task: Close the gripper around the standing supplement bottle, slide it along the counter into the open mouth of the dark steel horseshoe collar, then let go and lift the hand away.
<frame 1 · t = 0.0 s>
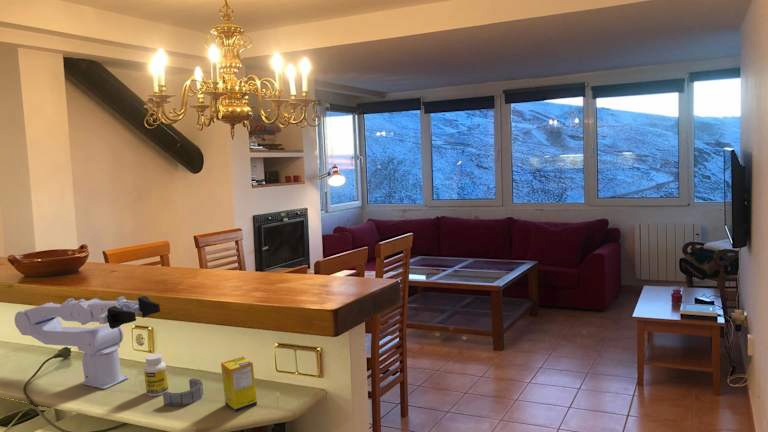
hand: (146, 312, 160), 22 cm above the table, tool horizontal, fingers open, 7 cm apart
steel horseshoe collar: (182, 397, 159), on the table
supplement box: (241, 405, 153), on the table
supplement bottle: (157, 392, 164), on the table
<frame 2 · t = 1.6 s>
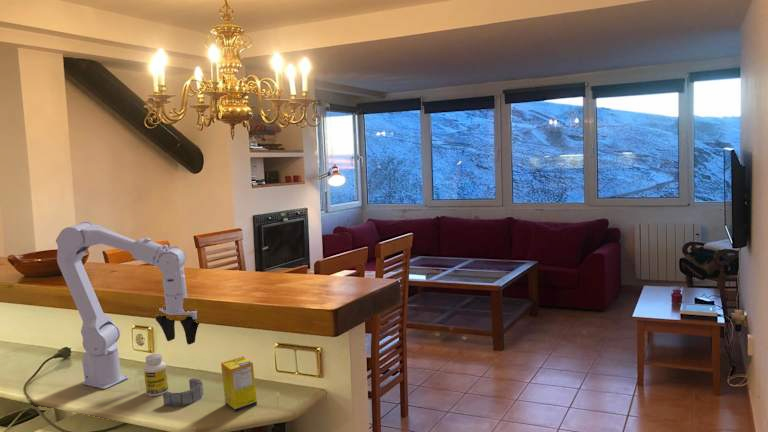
hand: (181, 341, 170), 10 cm above the table, tool pointing down, fingers open, 7 cm apart
nothing on the table moved.
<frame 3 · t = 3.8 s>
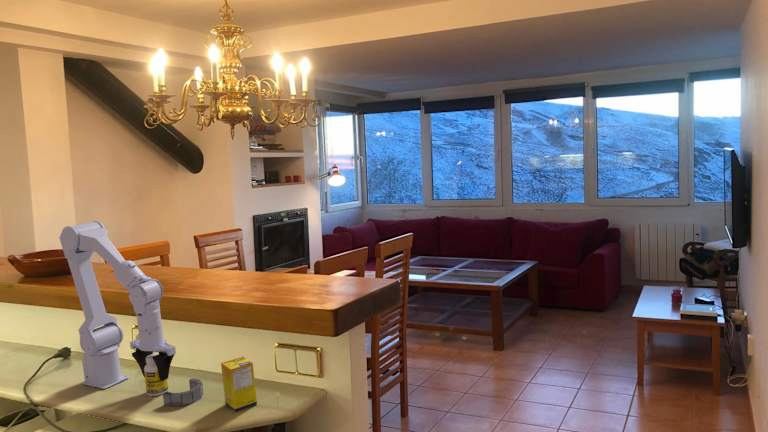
hand: (156, 377, 163), 4 cm above the table, tool pointing down, fingers closed on supplement bottle, 5 cm apart
supplement bottle: (157, 392, 164), on the table, touching gripper
everything else where it was.
when the fingers open (4 cm above the table, at t = 4.6 s): supplement bottle moves 6 cm, on the table.
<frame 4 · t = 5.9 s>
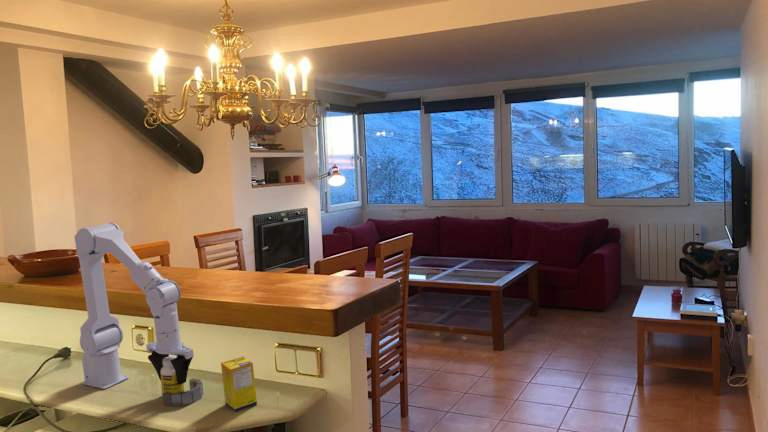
hand: (173, 381, 160), 4 cm above the table, tool pointing down, fingers open, 6 cm apart
supplement bottle: (173, 395, 161), on the table, touching gripper
everything else where it was.
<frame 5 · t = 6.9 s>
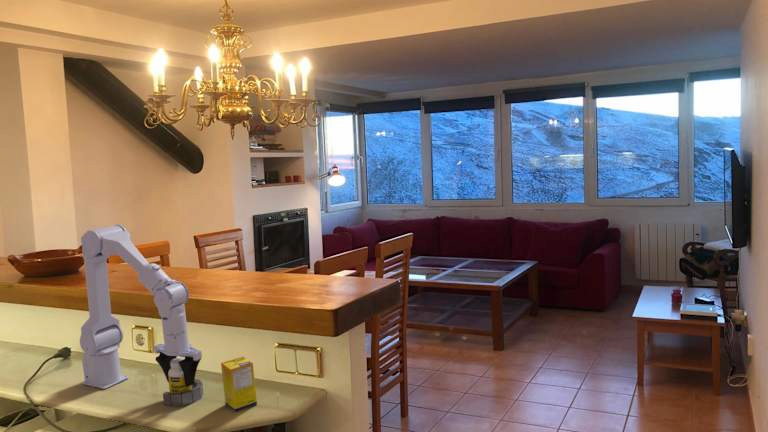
hand: (181, 383, 159), 4 cm above the table, tool pointing down, fingers open, 6 cm apart
supplement bottle: (181, 397, 160), on the table, touching gripper
everything else where it was.
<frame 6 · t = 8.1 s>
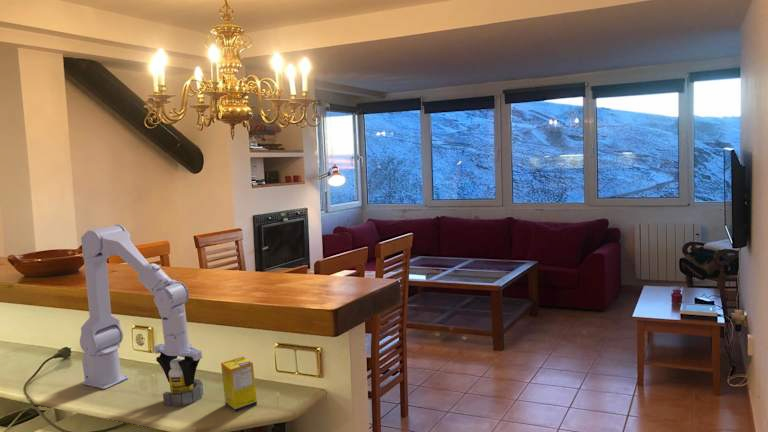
hand: (181, 383, 159), 4 cm above the table, tool pointing down, fingers closed on supplement bottle, 5 cm apart
supplement bottle: (182, 398, 159), on the table, touching gripper
everything else where it was.
when the fingers open (4 cm above the table, at t = 8.1 s): supplement bottle stays where it is, on the table.
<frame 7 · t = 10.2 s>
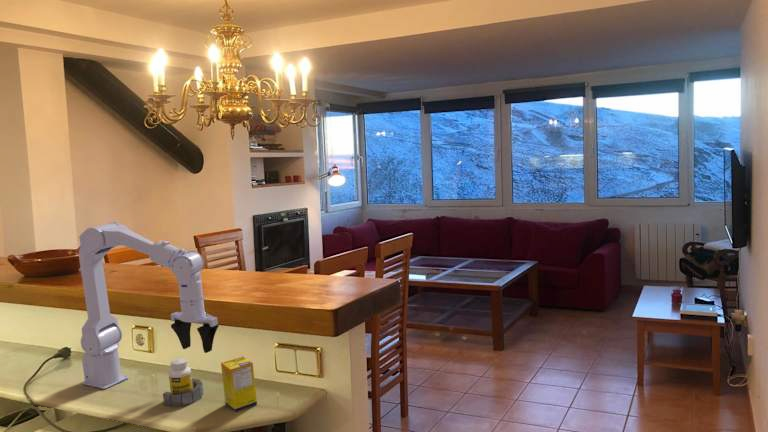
hand: (197, 349, 163), 10 cm above the table, tool pointing down, fingers open, 7 cm apart
supplement bottle: (182, 398, 159), on the table
everything else where it was.
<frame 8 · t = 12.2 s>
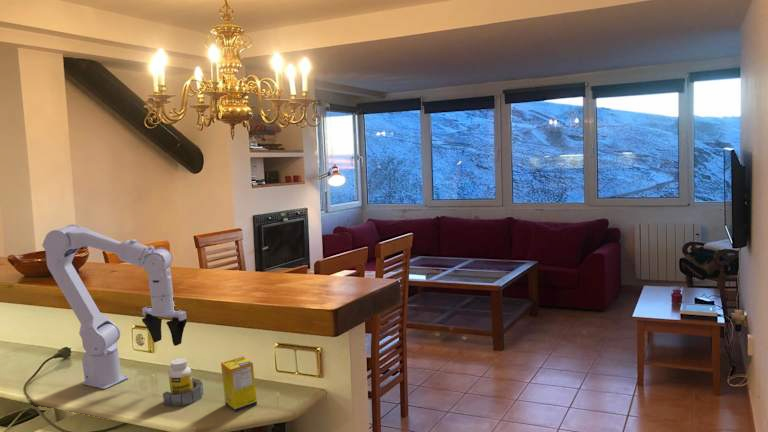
hand: (167, 342, 170), 10 cm above the table, tool pointing down, fingers open, 7 cm apart
nothing on the table moved.
at the end: supplement bottle 0.1 cm off-centre on the steel horseshoe collar, point 0.0 cm above the steel horseshoe collar's base; supplement bottle tilted 0°; the gripper is holding nothing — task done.
